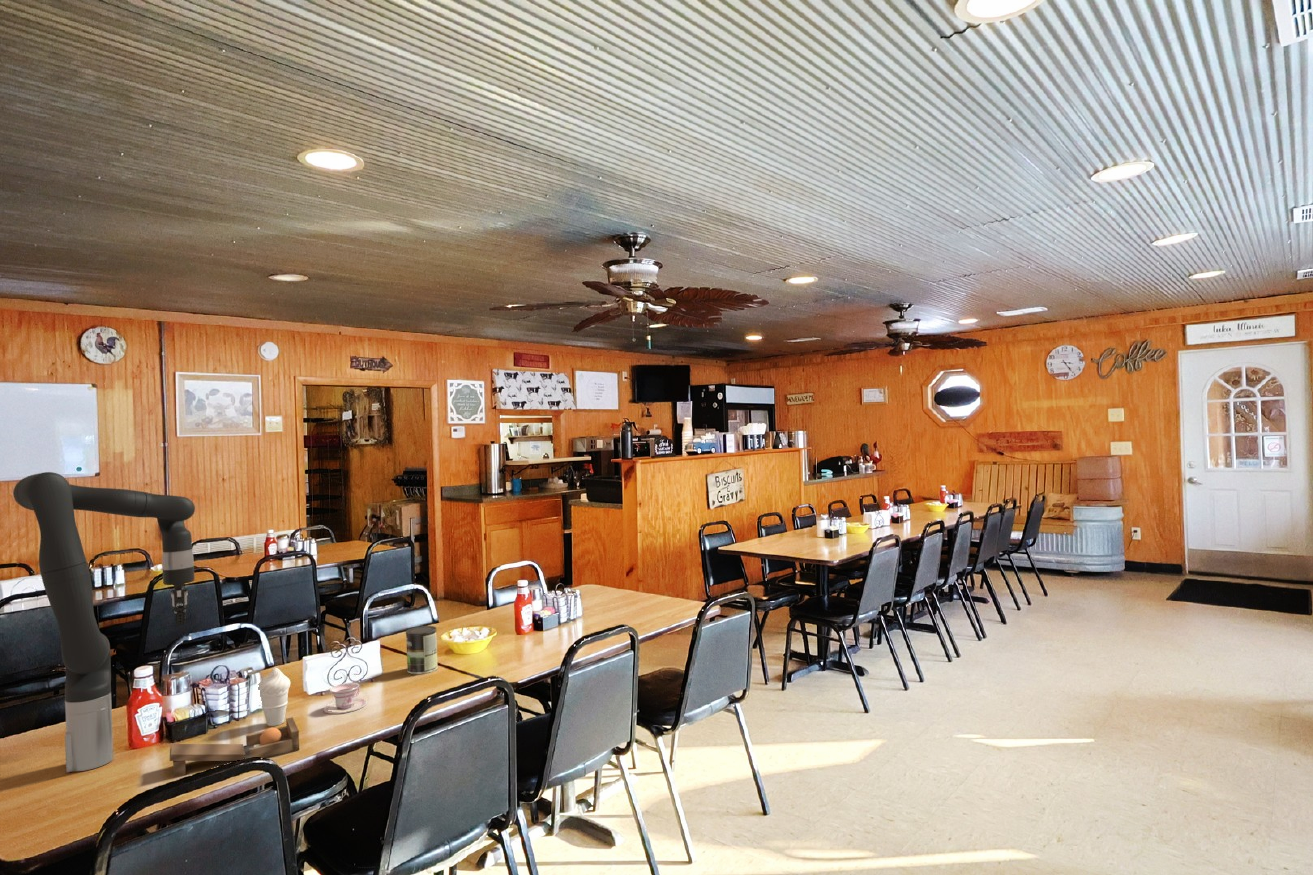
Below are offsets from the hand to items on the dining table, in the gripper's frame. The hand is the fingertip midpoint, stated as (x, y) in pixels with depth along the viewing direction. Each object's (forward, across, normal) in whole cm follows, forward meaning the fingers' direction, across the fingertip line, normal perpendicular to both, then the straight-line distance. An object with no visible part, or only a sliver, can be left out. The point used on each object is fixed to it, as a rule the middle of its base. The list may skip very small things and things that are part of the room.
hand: (180, 622), depth 207 cm
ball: (+27, -32, -19) cm, 46 cm away
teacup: (+31, -12, -40) cm, 52 cm away
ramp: (+30, -33, -5) cm, 45 cm away
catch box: (+30, -32, -19) cm, 48 cm away
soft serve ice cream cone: (+30, -13, -22) cm, 40 cm away
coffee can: (+31, +11, -70) cm, 77 cm away
